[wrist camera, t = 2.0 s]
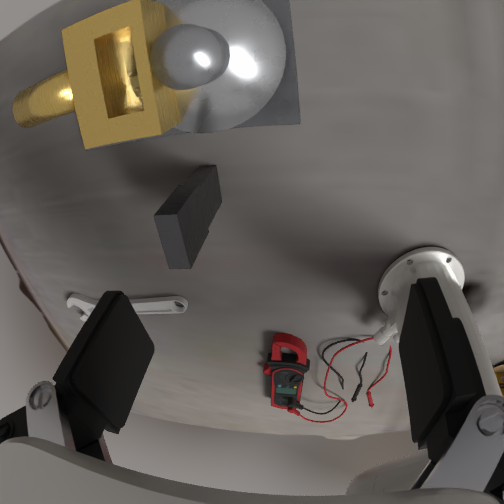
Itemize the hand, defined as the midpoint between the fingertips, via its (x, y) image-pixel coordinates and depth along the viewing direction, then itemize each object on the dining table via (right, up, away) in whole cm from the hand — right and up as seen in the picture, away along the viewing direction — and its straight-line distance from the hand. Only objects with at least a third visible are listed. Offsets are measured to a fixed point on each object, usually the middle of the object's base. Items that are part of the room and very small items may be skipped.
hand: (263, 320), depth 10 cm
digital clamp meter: (+13, -20, +44) cm, 50 cm away
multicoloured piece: (-9, +21, +18) cm, 29 cm away
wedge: (-5, +10, +25) cm, 27 cm away
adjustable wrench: (-22, -7, +41) cm, 47 cm away
